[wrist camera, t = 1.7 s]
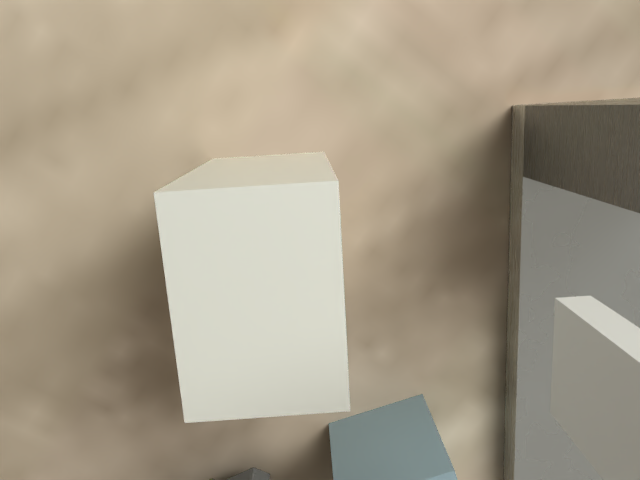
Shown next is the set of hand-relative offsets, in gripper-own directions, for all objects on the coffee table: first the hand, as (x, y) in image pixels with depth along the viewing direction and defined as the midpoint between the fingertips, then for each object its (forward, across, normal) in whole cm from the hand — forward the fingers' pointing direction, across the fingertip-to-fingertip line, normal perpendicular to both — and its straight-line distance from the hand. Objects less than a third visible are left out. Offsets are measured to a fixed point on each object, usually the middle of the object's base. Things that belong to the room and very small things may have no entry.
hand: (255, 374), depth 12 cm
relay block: (+14, +5, -12) cm, 19 cm away
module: (+14, 0, 0) cm, 14 cm away
